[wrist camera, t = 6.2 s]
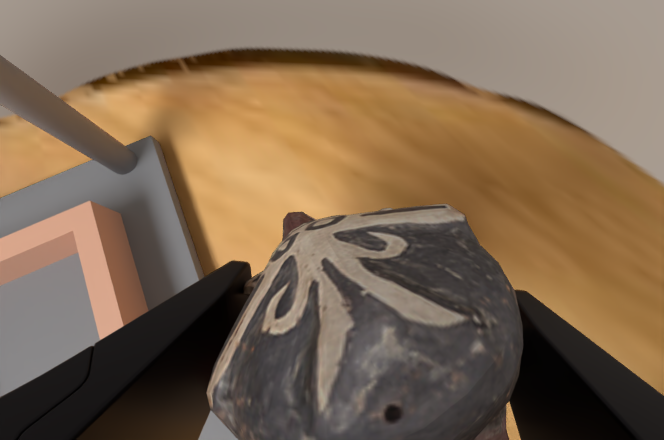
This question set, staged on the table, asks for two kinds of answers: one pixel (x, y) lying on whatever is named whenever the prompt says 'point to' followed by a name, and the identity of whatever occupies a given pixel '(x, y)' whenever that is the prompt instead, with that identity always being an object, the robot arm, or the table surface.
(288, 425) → the figurine
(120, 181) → the awning stand
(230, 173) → the table surface
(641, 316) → the table surface
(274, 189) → the table surface
